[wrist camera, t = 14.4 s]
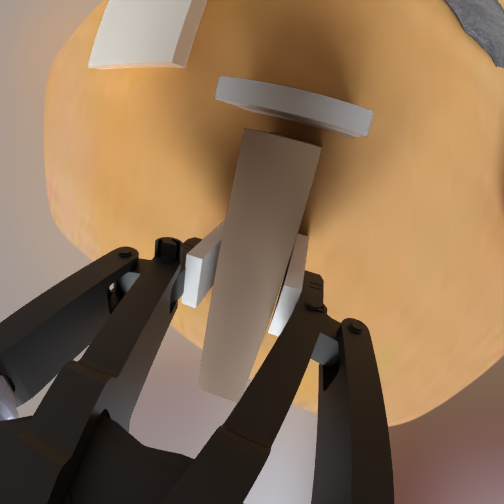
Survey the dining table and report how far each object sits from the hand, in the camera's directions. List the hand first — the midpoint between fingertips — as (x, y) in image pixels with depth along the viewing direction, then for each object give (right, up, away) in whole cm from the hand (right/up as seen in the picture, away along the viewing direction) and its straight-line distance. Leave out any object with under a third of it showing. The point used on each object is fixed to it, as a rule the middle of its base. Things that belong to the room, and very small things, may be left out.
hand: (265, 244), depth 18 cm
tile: (-9, +12, -4) cm, 16 cm away
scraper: (0, 0, 0) cm, 0 cm away
